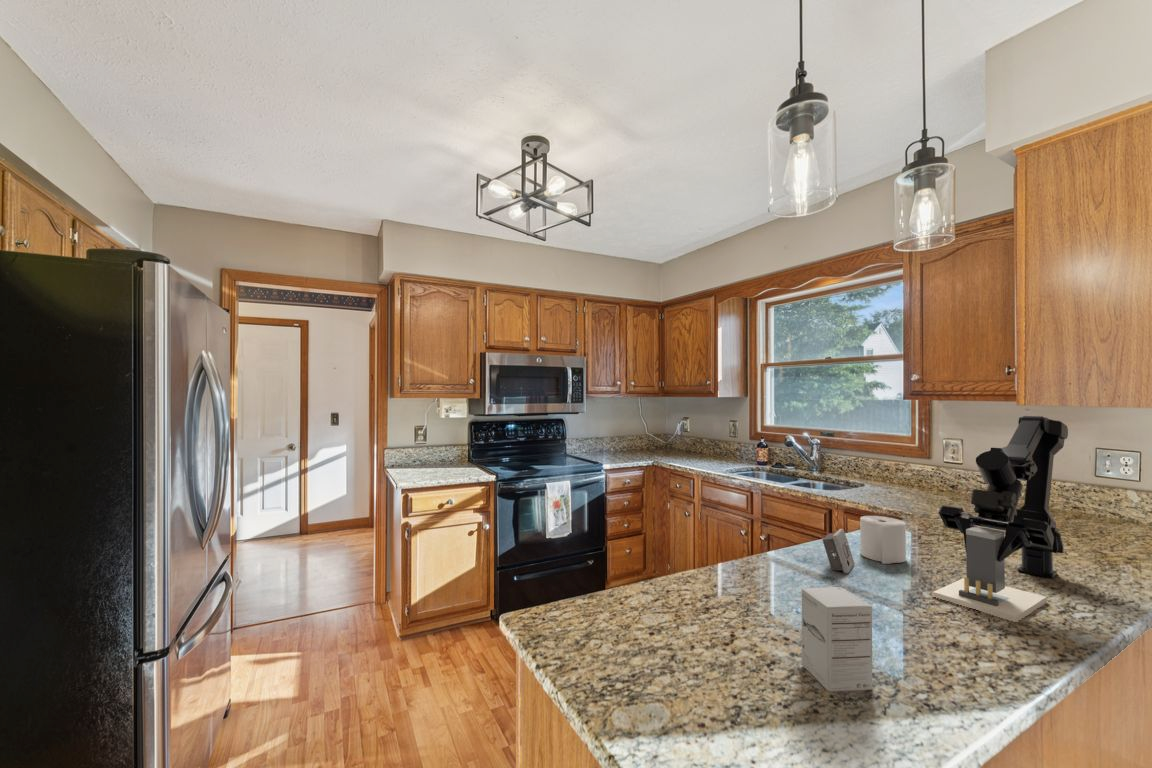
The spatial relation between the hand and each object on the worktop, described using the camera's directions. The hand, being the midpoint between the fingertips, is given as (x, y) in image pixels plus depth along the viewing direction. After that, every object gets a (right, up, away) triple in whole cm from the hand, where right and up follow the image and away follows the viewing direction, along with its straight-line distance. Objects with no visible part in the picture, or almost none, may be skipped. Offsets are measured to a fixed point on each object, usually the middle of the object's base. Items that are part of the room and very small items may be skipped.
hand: (982, 556), depth 104 cm
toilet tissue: (-3, -11, +29) cm, 31 cm away
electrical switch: (-19, -11, +21) cm, 30 cm away
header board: (+3, -10, +1) cm, 10 cm away
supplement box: (-46, -9, -28) cm, 55 cm away
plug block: (+1, -7, +1) cm, 7 cm away
